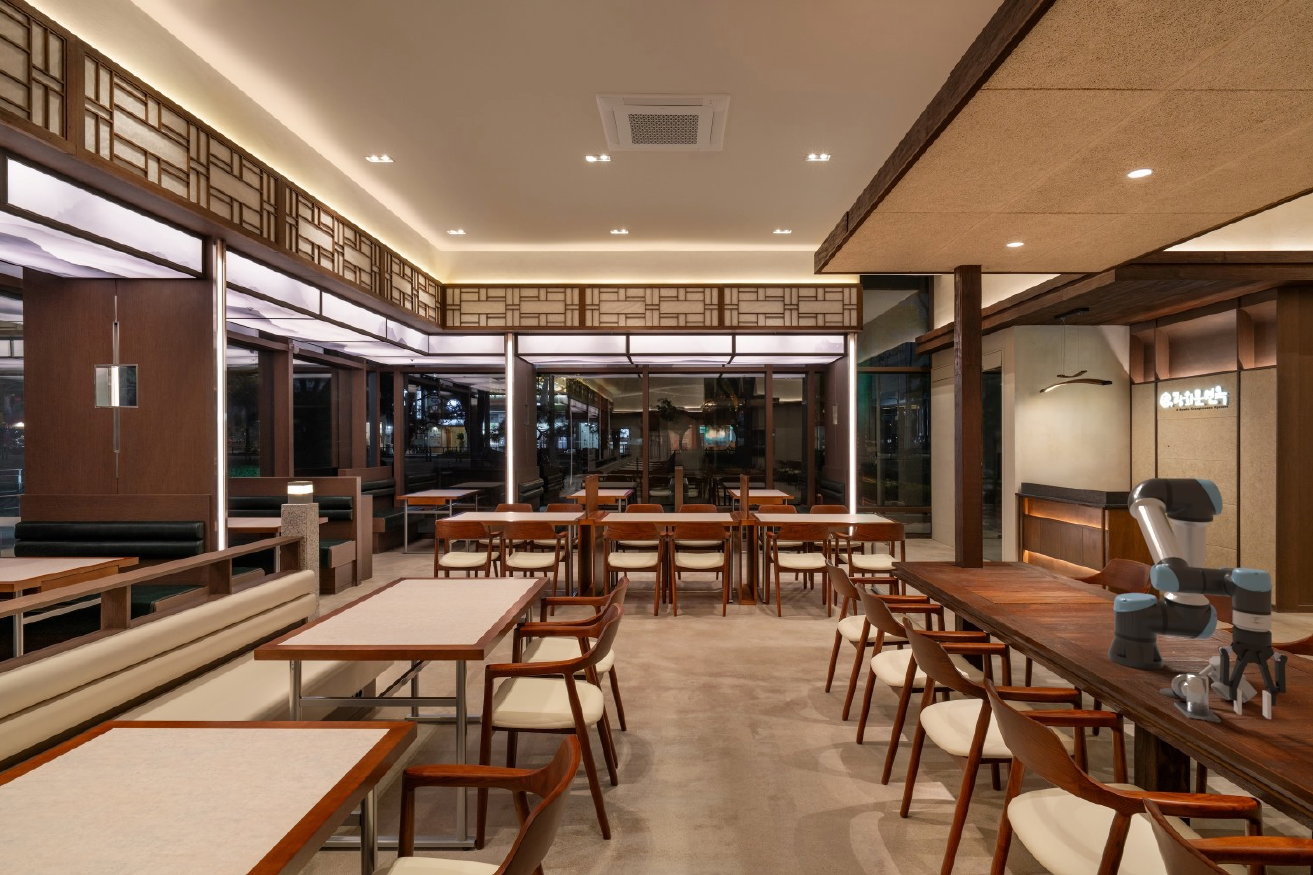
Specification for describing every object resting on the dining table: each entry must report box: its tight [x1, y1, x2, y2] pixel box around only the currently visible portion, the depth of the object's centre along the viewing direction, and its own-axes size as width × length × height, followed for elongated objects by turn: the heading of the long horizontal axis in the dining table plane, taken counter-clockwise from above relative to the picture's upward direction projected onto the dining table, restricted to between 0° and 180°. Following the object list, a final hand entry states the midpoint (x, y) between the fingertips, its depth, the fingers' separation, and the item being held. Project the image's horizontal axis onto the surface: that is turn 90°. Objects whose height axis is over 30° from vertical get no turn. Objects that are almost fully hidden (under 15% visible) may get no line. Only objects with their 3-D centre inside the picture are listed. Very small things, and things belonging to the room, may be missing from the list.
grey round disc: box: [1159, 688, 1181, 700], centre depth 183 cm, size 6×6×1 cm
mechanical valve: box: [1171, 655, 1258, 704], centre depth 179 cm, size 10×18×15 cm
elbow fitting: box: [1170, 672, 1222, 723], centre depth 171 cm, size 12×7×11 cm, turn 159°
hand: (1252, 714), depth 162 cm, fingers open, 5 cm apart
